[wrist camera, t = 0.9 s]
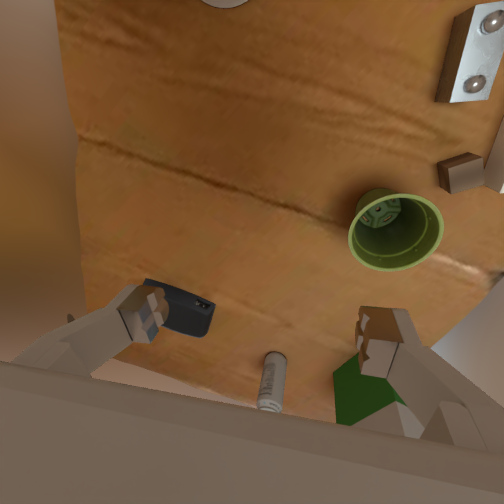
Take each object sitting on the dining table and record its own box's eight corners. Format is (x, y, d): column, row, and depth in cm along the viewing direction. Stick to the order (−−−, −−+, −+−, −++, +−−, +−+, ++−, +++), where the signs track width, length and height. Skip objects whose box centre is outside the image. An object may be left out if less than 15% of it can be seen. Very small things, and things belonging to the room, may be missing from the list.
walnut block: (436, 162, 39) (448, 168, 36) (468, 152, 38) (483, 157, 35) (439, 186, 41) (451, 194, 38) (469, 177, 40) (484, 184, 36)
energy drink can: (274, 367, 73) (266, 423, 60) (261, 354, 71) (249, 409, 59) (291, 361, 70) (286, 418, 58) (278, 348, 68) (269, 404, 56)
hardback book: (356, 384, 69) (373, 501, 49) (333, 372, 69) (340, 485, 49) (405, 351, 60) (451, 479, 40) (378, 336, 59) (411, 459, 39)
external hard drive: (207, 332, 72) (202, 344, 69) (144, 308, 73) (135, 319, 69) (217, 301, 65) (212, 312, 62) (147, 274, 66) (137, 284, 62)
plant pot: (431, 184, 41) (465, 209, 32) (393, 245, 47) (412, 281, 38) (359, 163, 42) (371, 183, 32) (331, 226, 48) (335, 257, 39)
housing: (454, 17, 31) (479, 2, 27) (492, 11, 31) (526, -5, 26) (433, 102, 36) (452, 102, 31) (466, 99, 35) (491, 99, 30)
